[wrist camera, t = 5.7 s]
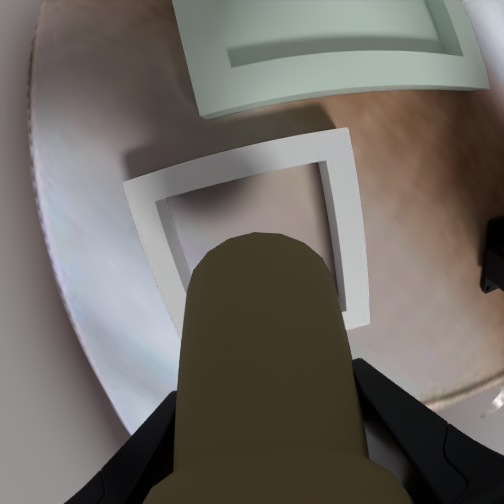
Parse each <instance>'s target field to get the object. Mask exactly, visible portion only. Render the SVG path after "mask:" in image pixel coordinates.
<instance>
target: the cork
mask: <svg viewBox="0 0 504 504" xmlns="http://www.w3.org/2000/svg"><path fill="white" fill-rule="evenodd" d="M142 504H415V503H414V500H413V499H412V498H411V496H410V495H409V494H408V492H407V491H406V490H405V488H404V487H403V486H402V484H401V483H400V482H399V480H398V479H397V478H396V477H395V475H394V474H393V473H392V472H391V471H390V470H388V469H386V468H384V467H383V466H381V465H379V464H377V463H375V462H374V461H372V460H370V459H369V451H368V444H367V437H366V431H365V424H364V418H363V412H362V406H361V401H360V397H359V394H358V390H357V387H356V383H355V379H354V374H353V367H352V355H351V350H350V346H349V341H348V337H347V332H346V328H345V324H344V320H343V315H342V311H341V307H340V303H339V299H338V295H337V291H336V287H335V284H334V280H333V276H332V275H331V273H330V271H329V269H328V267H327V266H326V264H325V262H324V260H323V259H322V257H320V256H319V255H318V254H317V253H316V252H315V251H313V250H312V249H311V248H310V247H309V246H307V245H306V244H305V243H303V242H301V241H298V240H296V239H293V238H290V237H288V236H285V235H283V234H276V233H258V232H254V233H250V234H246V235H242V236H238V237H234V238H230V239H228V240H226V241H225V242H223V243H221V244H220V245H218V246H217V247H215V248H213V249H212V250H210V251H209V252H208V253H207V254H206V255H205V256H204V258H203V259H202V260H201V261H200V263H199V264H198V265H197V266H196V268H195V269H194V270H193V273H192V276H191V279H190V282H189V285H188V289H187V294H186V302H185V311H184V320H183V329H182V339H181V349H180V360H179V372H178V385H177V399H176V416H175V436H174V469H173V473H172V474H170V475H169V476H168V477H166V478H165V479H164V480H162V481H161V482H159V483H158V484H156V485H155V486H154V487H152V488H151V490H150V492H149V493H148V495H147V497H146V498H145V500H144V502H143V503H142Z"/></svg>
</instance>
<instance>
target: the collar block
mask: <svg viewBox="0 0 504 504" xmlns="http://www.w3.org/2000/svg"><path fill="white" fill-rule="evenodd" d="M314 162H318V164H319V169H320V174H321V179H322V185H323V190H324V196H325V202H326V208H327V214H328V220H329V226H330V233H331V240H332V247H333V254H334V262H335V270H336V278H337V287H338V299H339V303H340V307H341V311H342V315H343V320H344V324H345V328H346V330H350V329H353V328H357V327H361V326H364V325H368V324H370V314H369V288H368V271H367V257H366V245H365V235H364V225H363V217H362V209H361V201H360V194H359V187H358V180H357V174H356V168H355V162H354V156H353V151H352V145H351V140H350V135H349V130H348V127H346V128H338V129H331V130H325V131H319V132H313V133H307V134H301V135H296V136H291V137H286V138H281V139H276V140H271V141H266V142H261V143H257V144H253V145H248V146H244V147H240V148H236V149H231V150H227V151H224V152H220V153H216V154H212V155H208V156H205V157H201V158H197V159H194V160H190V161H187V162H183V163H180V164H177V165H173V166H170V167H167V168H164V169H161V170H157V171H154V172H151V173H148V174H145V175H142V176H139V177H136V178H133V179H131V180H128V181H125V182H123V183H122V184H123V187H124V190H125V194H126V197H127V200H128V204H129V207H130V210H131V213H132V216H133V219H134V222H135V225H136V228H137V231H138V234H139V237H140V240H141V243H142V245H143V248H144V251H145V254H146V257H147V259H148V262H149V265H150V267H151V270H152V273H153V275H154V278H155V280H156V283H157V285H158V288H159V290H160V293H161V295H162V298H163V300H164V303H165V305H166V308H167V310H168V312H169V315H170V317H171V319H172V322H173V324H174V326H175V328H176V331H177V333H178V335H179V337H180V340H181V339H182V329H183V320H184V311H185V302H186V294H187V289H188V285H189V282H190V279H191V275H190V272H189V269H188V266H187V263H186V260H185V257H184V254H183V251H182V248H181V245H180V242H179V239H178V235H177V232H176V229H175V226H174V223H173V220H172V216H171V213H170V210H169V206H168V203H167V200H166V198H168V197H171V196H175V195H178V194H182V193H186V192H189V191H193V190H196V189H200V188H204V187H208V186H212V185H216V184H219V183H223V182H227V181H231V180H236V179H240V178H244V177H248V176H252V175H257V174H261V173H266V172H270V171H275V170H280V169H284V168H289V167H294V166H299V165H304V164H309V163H314Z"/></svg>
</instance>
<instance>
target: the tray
mask: <svg viewBox="0 0 504 504" xmlns="http://www.w3.org/2000/svg"><path fill="white" fill-rule="evenodd" d="M172 3H173V7H174V11H175V16H176V20H177V24H178V29H179V33H180V37H181V41H182V45H183V50H184V54H185V58H186V62H187V66H188V70H189V74H190V78H191V83H192V87H193V91H194V95H195V99H196V103H197V107H198V111H199V115H200V116H201V117H203V118H204V119H206V120H209V119H213V118H217V117H220V116H224V115H228V114H232V113H236V112H241V111H245V110H249V109H254V108H259V107H263V106H268V105H273V104H279V103H284V102H290V101H296V100H302V99H308V98H315V97H322V96H330V95H339V94H348V93H359V92H372V91H389V90H455V91H476V90H486V89H490V84H489V80H488V76H487V72H486V68H485V64H484V60H483V57H482V54H481V50H480V47H479V44H478V41H477V38H476V35H475V32H474V29H473V27H472V24H471V21H470V19H469V16H468V14H467V11H466V9H465V6H464V4H463V2H462V0H172Z"/></svg>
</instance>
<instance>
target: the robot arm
mask: <svg viewBox="0 0 504 504" xmlns="http://www.w3.org/2000/svg"><path fill="white" fill-rule="evenodd" d="M497 288H500V289H501V290H502V291H503V292H504V216H501V217H498V218H494V219H491V220H490V221H489V223H488V227H487V244H486V256H485V265H484V273H483V281H482V288H481V290H482V291H483V292H484V293H489V292H491V291H493V290H495V289H497ZM352 367H353V374H354V379H355V383H356V387H357V390H358V394H359V397H360V401H361V406H362V412H363V418H364V424H365V431H366V437H367V444H368V451H369V458H370V460H372V461H374V462H375V463H377V464H379V465H381V466H383V467H384V468H386V469H388V470H390V471H391V472H392V473H393V474H394V475H395V477H396V478H397V479H398V480H399V482H400V483H401V484H402V486H403V487H404V488H405V490H406V491H407V492H408V494H409V495H410V496H411V498H412V499H413V500H414V503H415V504H504V456H503V455H501V454H499V453H497V452H495V451H493V450H491V449H489V448H487V447H485V446H484V445H482V444H480V443H478V442H477V441H475V440H473V439H472V438H470V437H469V436H467V435H465V434H464V433H462V432H461V431H459V430H458V429H457V428H455V427H454V426H452V425H451V424H448V422H447V421H446V420H444V419H443V418H441V417H440V416H438V415H437V414H436V413H435V412H433V411H432V410H430V409H429V408H428V407H426V406H425V405H424V404H422V403H421V402H419V401H418V400H417V399H415V398H414V397H413V396H411V395H410V394H409V393H407V392H406V391H405V390H403V389H402V388H401V387H399V386H398V385H397V384H395V383H394V382H393V381H391V380H390V379H388V378H387V377H386V376H384V375H383V374H382V373H380V372H379V371H378V370H376V369H375V368H374V367H372V366H371V365H370V364H369V363H367V362H366V361H365V360H363V359H362V358H357V359H354V360H352ZM176 399H177V391H172V392H171V393H170V394H169V395H168V396H167V397H166V398H165V399H164V400H163V402H162V403H161V404H160V405H159V406H158V407H157V408H156V409H155V411H154V412H153V413H152V414H151V415H150V416H149V417H148V418H147V419H146V421H145V422H144V423H143V424H142V425H141V426H140V427H139V428H138V429H137V431H136V432H135V433H134V434H133V435H132V436H131V437H130V438H129V439H128V440H127V442H126V443H125V444H124V445H123V446H122V447H121V448H120V449H119V450H118V451H117V452H116V454H115V455H114V456H113V457H112V458H111V459H110V460H109V461H108V462H107V463H106V464H105V465H104V467H102V469H101V471H99V472H98V473H97V474H96V475H95V476H94V477H93V478H92V479H91V480H90V481H89V482H88V483H87V484H86V485H85V486H84V487H83V488H82V489H80V490H79V491H78V492H77V493H76V494H75V495H74V496H72V497H71V498H70V499H69V500H68V501H67V502H65V503H64V504H142V503H143V502H144V500H145V498H146V497H147V495H148V493H149V492H150V490H151V488H152V487H154V486H155V485H156V484H158V483H159V482H161V481H162V480H164V479H165V478H166V477H168V476H169V475H170V474H172V473H173V469H174V436H175V416H176Z"/></svg>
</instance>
